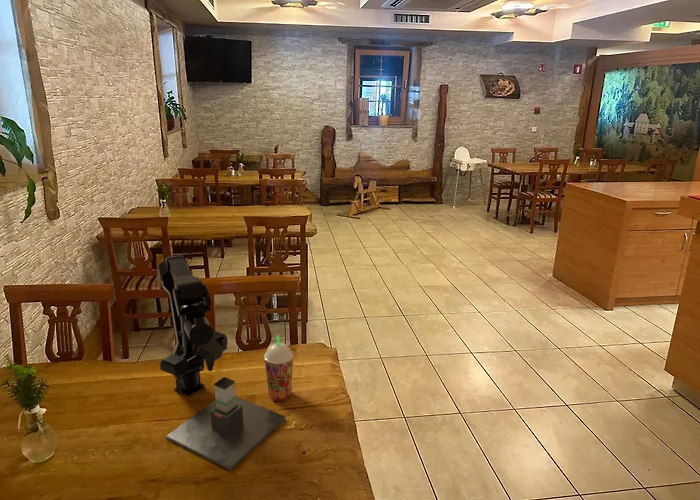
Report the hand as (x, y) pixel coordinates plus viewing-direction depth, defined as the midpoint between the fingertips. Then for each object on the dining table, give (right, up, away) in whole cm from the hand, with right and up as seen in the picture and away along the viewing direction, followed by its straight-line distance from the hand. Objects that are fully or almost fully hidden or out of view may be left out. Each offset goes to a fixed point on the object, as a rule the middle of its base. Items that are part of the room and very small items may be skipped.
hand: (197, 379), depth 129 cm
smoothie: (+20, -9, +15) cm, 26 cm away
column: (+8, -8, -2) cm, 12 cm away
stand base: (+8, -13, 0) cm, 16 cm away
